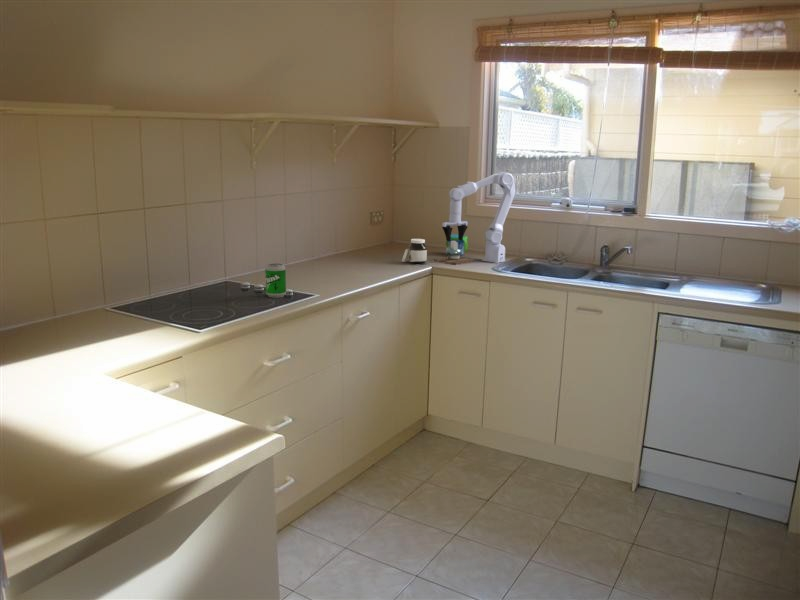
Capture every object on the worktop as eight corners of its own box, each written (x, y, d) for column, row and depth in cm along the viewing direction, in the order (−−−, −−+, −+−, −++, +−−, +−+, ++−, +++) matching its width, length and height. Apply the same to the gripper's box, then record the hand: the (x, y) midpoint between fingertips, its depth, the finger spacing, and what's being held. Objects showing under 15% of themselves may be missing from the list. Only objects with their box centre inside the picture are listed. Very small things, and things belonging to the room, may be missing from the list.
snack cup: (473, 256, 359) (474, 237, 357) (456, 258, 354) (456, 238, 352) (457, 252, 372) (457, 233, 370) (440, 253, 367) (440, 234, 365)
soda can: (277, 292, 269) (276, 262, 266) (290, 295, 264) (289, 264, 261) (261, 295, 263) (261, 264, 260) (274, 299, 258) (274, 267, 256)
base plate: (473, 261, 345) (473, 254, 344) (455, 264, 335) (456, 257, 334) (451, 257, 354) (451, 251, 353) (433, 261, 344) (434, 254, 343)
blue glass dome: (444, 252, 347) (444, 240, 346) (460, 252, 348) (460, 240, 347) (447, 255, 339) (448, 243, 337) (463, 255, 340) (464, 243, 338)
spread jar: (428, 264, 334) (429, 240, 332) (407, 265, 330) (407, 241, 328) (418, 260, 345) (419, 237, 342) (397, 261, 341) (398, 238, 338)
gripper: (449, 214, 332) (448, 242, 335) (472, 213, 340) (470, 240, 343) (439, 213, 337) (439, 240, 341) (462, 211, 346) (461, 238, 349)
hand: (454, 240), depth 342 cm, fingers open, 7 cm apart
